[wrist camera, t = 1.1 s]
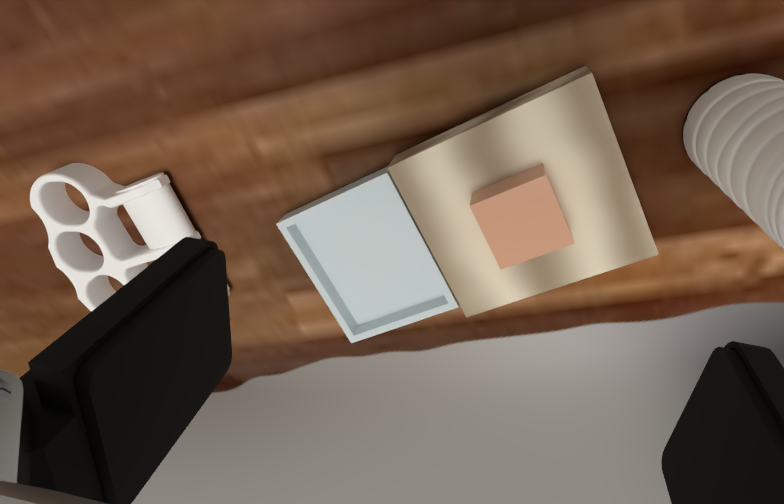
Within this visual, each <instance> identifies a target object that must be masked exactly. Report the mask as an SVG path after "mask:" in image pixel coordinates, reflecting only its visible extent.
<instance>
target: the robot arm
mask: <svg viewBox="0 0 784 504" xmlns="http://www.w3.org/2000/svg"><path fill="white" fill-rule="evenodd" d="M231 359H232V346H231V332H230V317H229V303H228V288H227V274H226V259H225V254H224V252H223V251H222V250H218V246H217V244H216V243H215V242H212V241H207V240H202V239H197V238H192V237H185V238H183V239H181V240H180V241H179V242H178V243H176V244H175V245H174V246H173V247H171V248H170V249H169V250H168V251H166V252H165V253H164V254H163V255H161V256H160V257H159V258H158V259H157V260H155V261H154V262H153V263H152V264H150V265H149V266H148V267H147V268H145V269H144V270H143V271H142V272H140V273H139V274H138V275H137V276H135V277H134V278H133V279H132V280H130V281H129V282H128V283H127V284H125V285H124V286H123V287H122V288H120V289H119V290H118V291H117V292H115V293H114V294H113V295H112V296H110V297H109V298H108V299H107V300H105V301H104V302H103V303H102V304H100V305H99V306H98V307H97V308H95V309H94V310H93V311H92V312H90V313H89V314H88V315H87V316H85V317H84V318H83V319H82V320H80V321H79V322H78V323H77V324H76V325H74V326H73V327H72V328H71V329H69V330H68V331H67V332H66V333H64V334H63V335H62V336H61V337H59V338H58V339H57V340H56V341H54V342H53V343H52V344H51V345H49V346H48V347H47V348H46V349H44V350H43V351H42V352H41V353H39V354H38V355H37V356H36V357H34V358H33V359H32V360H31V361H29V362H28V364H29V367H30V370H29V371H28V372H27V373H25V374H24V375H23V376H22V377H21V378H18V377H17V376H16V375H15V374H13V373H10V372H7V371H4V370H0V504H131V503H132V502H133V501H134V499H135V498H136V496H137V495H138V494H139V492H140V491H141V489H142V488H143V487H144V485H145V484H146V482H147V481H148V480H149V478H150V477H151V476H152V474H153V473H154V472H155V470H156V469H157V467H158V466H159V465H160V463H161V462H162V461H163V459H164V458H165V456H166V455H167V454H168V452H169V451H170V449H171V448H172V446H173V445H174V444H175V442H176V441H177V439H178V438H179V437H180V435H181V434H182V433H183V431H184V430H185V429H186V427H187V426H188V425H189V423H190V422H191V420H192V419H193V418H194V416H195V415H196V413H197V412H198V411H199V409H200V408H201V406H202V405H203V404H204V403H205V401H206V400H207V398H208V397H209V395H210V394H211V393H212V392H213V390H214V389H215V387H216V386H217V385H218V383H219V382H220V381H221V379H222V378H223V376H224V375H225V374H226V372H227V370H228V369H229V366H230V363H231ZM662 470H663V474H664V478H665V482H666V485H667V489H668V492H669V495H670V499H671V502H672V504H784V368H783V366H782V365H781V363H780V362H779V360H778V359H777V357H776V356H775V355H774V353H773V352H772V351H771V350H770V349H768V348H765V347H760V346H755V345H749V344H744V343H739V342H734V341H733V342H730V343H728V344H727V345H726V346H725V347H724V348H722V347H717V348H716V349H715V350H714V351H713V352H712V354H711V356H710V358H709V360H708V362H707V364H706V366H705V368H704V370H703V372H702V374H701V376H700V379H699V380H698V382H697V384H696V386H695V388H694V390H693V392H692V394H691V396H690V398H689V400H688V402H687V405H686V406H685V408H684V411H683V412H682V414H681V416H680V418H679V420H678V422H677V425H676V427H675V428H674V430H673V433H672V435H671V437H670V439H669V441H668V443H667V445H666V447H665V449H664V451H663V455H662Z"/></svg>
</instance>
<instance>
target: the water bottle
mask: <svg viewBox="0 0 784 504" xmlns="http://www.w3.org/2000/svg"><path fill="white" fill-rule="evenodd" d="M683 141H684V146H685V149H686V151H687V154H688V156H689V157H690V159H691V160H692V161H693V163H694V164H695V165H696V166H697V167H698V168H699V169H700V170H701V171H702V172H703V173H704V174H705V175H707V176H708V177H709V178H710V179H711V180H712V181H713V182H714V183H715V184H716V185H717V186H719V188H720V189H721V190H722V191H723V192H724V193H725V194H726V195H727V196H729V197H730V198H731V199H732V200H733V201H734V202H735V204H736V205H737V206H738V207H740V208H741V209H743V210H744V212H745V213H746V214H747V215H748V216H749V217H750V218H751V219H752V220H753V221H754V222H755V223H757V224H758V225H759V226H760V227H761V228H762V230H763V231H764V232H765V233H766V234H767V235H768V236H769V237H770V238H771V239H772V240H774V241H775V242H776V243H777V244H779V245H780V246H781V247H782V248H783V249H784V80H782V79H779V78H776V77H773V76H770V75H765V74H744V75H738V76H734V77H731V78H728V79H725V80H723V81H721V82H719V83H717V84H716V85H714V86H713V87H711V88H710V89H709V90H708V91H707V92H706V93H704V94H703V95H702V96H701V97H700V98H699V99H698V100H697V101H696V102H695V104H694V105H693V106H692V108H691V110H690V111H689V113H688V116H687V121H686V122H685V125H684V129H683Z"/></svg>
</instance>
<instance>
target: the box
mask: <svg viewBox="0 0 784 504" xmlns="http://www.w3.org/2000/svg"><path fill="white" fill-rule="evenodd" d="M387 167H388V166H387ZM387 167H385V168H383V169H381V170H379V171H377V172H374V173H372V174H370V175H368V176H366V177H364V178H362V179H359V180H357V181H355V182H353V183H351V184H349V185H347V186H344V187H342V188H340V189H338V190H336V191H334V192H332V193H329V194H327V195H325V196H323V197H321V198H319V199H317V200H314V201H312V202H310V203H308V204H306V205H304V206H302V207H299V208H297V209H295V210H293V211H291V212H289V213H287V214H285V215H284V216H283V217H282V218H281V219H280V220H279V221H278V222H277V223H276V225H277V226H278V228H279V229H280V231H281V232H282V234H283V236H284V237H285V239H286V240H287V242H288V244H289V245H290V247H291V248H292V250H293V252H294V253H295V255H296V256H297V258H298V259H299V261H300V263H301V264H302V266H303V267H304V269H305V271H306V272H307V274H308V275H309V277H310V278H311V280H312V282H313V283H314V285H315V286H316V288H317V290H318V291H319V293H320V294H321V296H322V297H323V299H324V301H325V302H326V304H327V305H328V307H329V309H330V310H331V312H332V313H333V315H334V316H335V318H336V320H337V321H338V323H339V324H340V326H341V328H342V329H343V331H344V332H345V334H346V336H347V337H348V339H349V340H350V342H351V343H353V342H356V341H359V340H362V339H365V338H368V337H371V336H374V335H377V334H380V333H383V332H386V331H389V330H392V329H395V328H398V327H401V326H404V325H407V324H410V323H413V322H416V321H419V320H422V319H425V318H428V317H431V316H434V315H437V314H440V313H443V312H446V311H449V310H452V309H454V308H457V307H459V302H458V300H457V299H456V297H455V295H454V293H453V291H452V289H451V287H450V285H449V284H448V282H447V280H446V278H445V276H444V274H443V272H442V270H441V268H440V267H439V265H438V263H437V261H436V259H435V257H434V255H433V253H432V251H431V250H430V248H429V246H428V244H427V242H426V240H425V238H424V236H423V235H422V233H421V231H420V229H419V227H418V225H417V223H416V221H415V219H414V218H413V216H412V214H411V212H410V210H409V208H408V206H407V204H406V202H405V201H404V199H403V197H402V195H401V193H400V191H399V189H398V187H397V185H396V184H395V182H394V180H393V178H392V176H391V174H390V172H389V170H388V169H387Z"/></svg>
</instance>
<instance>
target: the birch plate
mask: <svg viewBox="0 0 784 504" xmlns="http://www.w3.org/2000/svg"><path fill="white" fill-rule="evenodd" d="M542 163H543V164H544V166H545V169H546V171H547V173H548V176H549V178H550V180H551V183H552V185H553V187H554V190H555V192H556V195H557V197H558V199H559V202H560V204H561V206H562V209H563V211H564V214H565V216H566V218H567V221H568V223H569V225H570V228H571V231H572V235H573V239H574V243H575V244H573V245H570V246H567V247H564V248H561V249H558V250H556V251H553V252H550V253H547V254H544V255H541V256H539V257H536V258H533V259H530V260H527V261H524V262H522V263H519V264H516V265H513V266H510V267H507V268H505V269H502V270H500V267H499V265H498V263H497V261H496V259H495V257H494V255H493V253H492V251H491V249H490V247H489V245H488V243H487V241H486V239H485V237H484V235H483V233H482V230H481V228H480V226H479V224H478V222H477V220H476V218H475V216H474V214H473V212H472V210H471V208H470V201H471V195H472V193H473V192H475V191H478V190H480V189H482V188H485V187H487V186H490V185H492V184H494V183H497V182H499V181H502V180H504V179H506V178H509V177H511V176H514V175H516V174H518V173H521V172H523V171H526V170H528V169H530V168H533V167H535V166H537V165H540V164H542ZM387 169H388V170H389V172H390V174H391V176H392V178H393V180H394V182H395V184H396V185H397V187H398V189H399V191H400V193H401V195H402V197H403V199H404V201H405V202H406V204H407V206H408V208H409V210H410V212H411V214H412V216H413V218H414V219H415V221H416V223H417V225H418V227H419V229H420V231H421V233H422V235H423V236H424V238H425V240H426V242H427V244H428V246H429V248H430V250H431V251H432V253H433V255H434V257H435V259H436V261H437V263H438V265H439V267H440V268H441V270H442V272H443V274H444V276H445V278H446V280H447V282H448V284H449V285H450V287H451V289H452V291H453V293H454V295H455V297H456V299H457V300H458V302H459V304H460V306H461V308H462V310H463V312H464V314H465V316H466V317H469V316H472V315H475V314H478V313H481V312H484V311H487V310H490V309H493V308H496V307H499V306H502V305H506V304H509V303H512V302H515V301H518V300H521V299H524V298H527V297H530V296H533V295H536V294H539V293H542V292H545V291H548V290H551V289H555V288H558V287H561V286H564V285H567V284H570V283H573V282H576V281H579V280H582V279H585V278H588V277H591V276H594V275H597V274H600V273H604V272H607V271H610V270H613V269H616V268H619V267H622V266H625V265H628V264H631V263H634V262H637V261H640V260H643V259H646V258H649V257H652V256H656V255H659V254H658V251H657V249H656V246H655V243H654V240H653V238H652V235H651V232H650V230H649V227H648V224H647V221H646V219H645V216H644V213H643V210H642V208H641V205H640V202H639V199H638V197H637V194H636V191H635V189H634V186H633V183H632V180H631V178H630V175H629V172H628V169H627V167H626V164H625V161H624V159H623V156H622V153H621V150H620V148H619V145H618V142H617V139H616V137H615V134H614V131H613V128H612V126H611V123H610V120H609V118H608V115H607V112H606V109H605V107H604V104H603V101H602V98H601V96H600V93H599V90H598V87H597V85H596V82H595V79H594V77H593V74H592V72H591V71H590V70H589V69H588V68H587V67H586V66H583V67H581V68H579V69H577V70H575V71H573V72H571V73H568V74H566V75H564V76H562V77H560V78H558V79H556V80H554V81H552V82H549V83H547V84H545V85H543V86H541V87H539V88H537V89H535V90H532V91H530V92H528V93H526V94H524V95H522V96H520V97H518V98H516V99H513V100H511V101H509V102H507V103H505V104H503V105H501V106H499V107H497V108H494V109H492V110H490V111H488V112H486V113H484V114H482V115H480V116H477V117H475V118H473V119H471V120H469V121H467V122H465V123H463V124H461V125H458V126H456V127H454V128H452V129H450V130H448V131H446V132H444V133H441V134H439V135H437V136H435V137H433V138H431V139H429V140H427V141H425V142H422V143H420V144H418V145H416V146H414V147H412V148H410V149H408V150H406V151H403V152H401V153H399V154H397V155H395V156H394V158H393V160H392V161H391V163H390V164H389V166H388V167H387Z"/></svg>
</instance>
